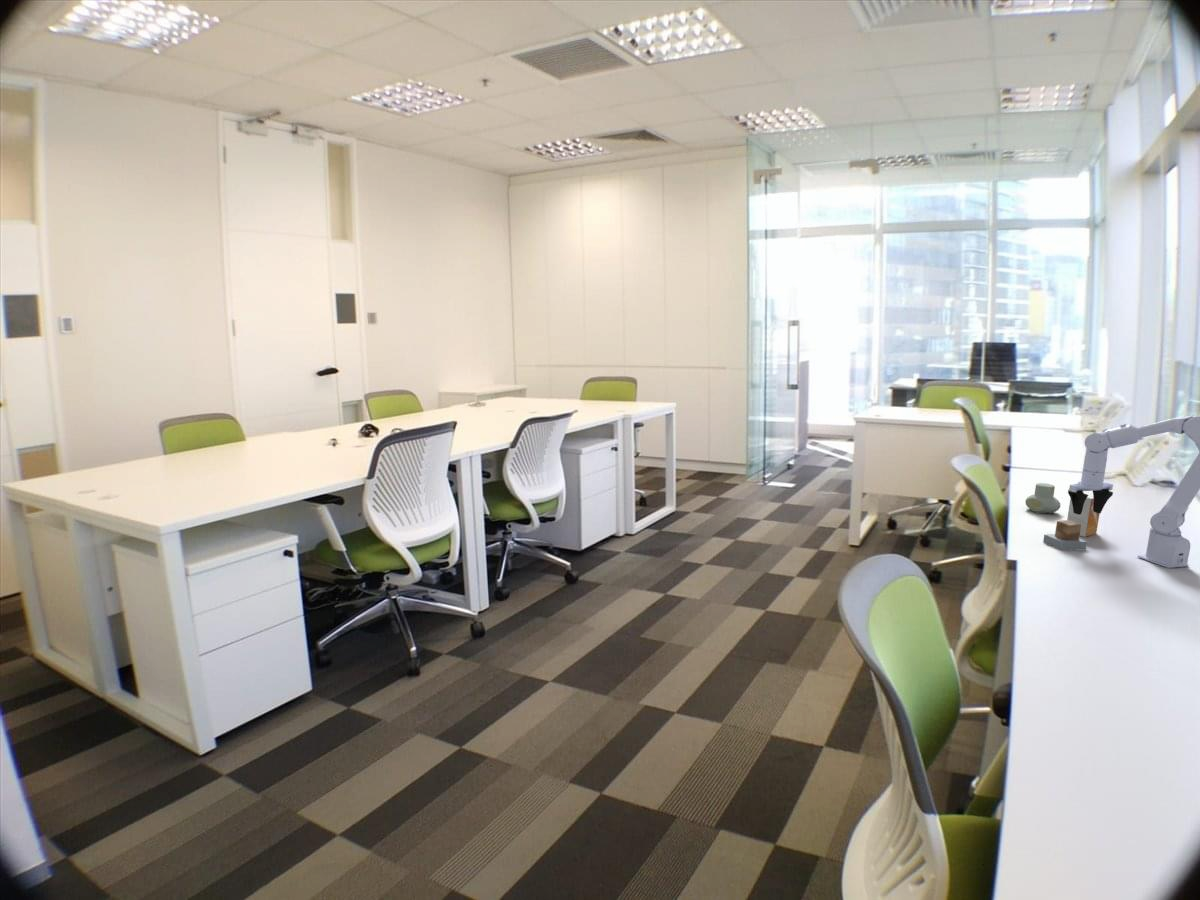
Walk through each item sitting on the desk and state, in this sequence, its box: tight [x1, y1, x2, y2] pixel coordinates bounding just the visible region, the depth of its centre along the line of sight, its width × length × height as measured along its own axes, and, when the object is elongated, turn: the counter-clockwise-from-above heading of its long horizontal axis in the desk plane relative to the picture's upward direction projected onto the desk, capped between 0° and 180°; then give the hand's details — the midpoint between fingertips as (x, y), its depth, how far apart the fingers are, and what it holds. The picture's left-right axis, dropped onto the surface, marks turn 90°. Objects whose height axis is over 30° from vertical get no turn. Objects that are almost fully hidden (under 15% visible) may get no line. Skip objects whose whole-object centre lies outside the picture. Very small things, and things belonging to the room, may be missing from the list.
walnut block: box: [1054, 519, 1081, 541], centre depth 226 cm, size 4×4×5 cm
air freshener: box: [1025, 482, 1061, 514], centre depth 264 cm, size 11×8×10 cm
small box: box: [1066, 491, 1101, 538], centre depth 239 cm, size 8×6×13 cm
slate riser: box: [1042, 533, 1088, 551], centre depth 227 cm, size 8×8×3 cm
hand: (1087, 513), depth 228 cm, fingers open, 7 cm apart
